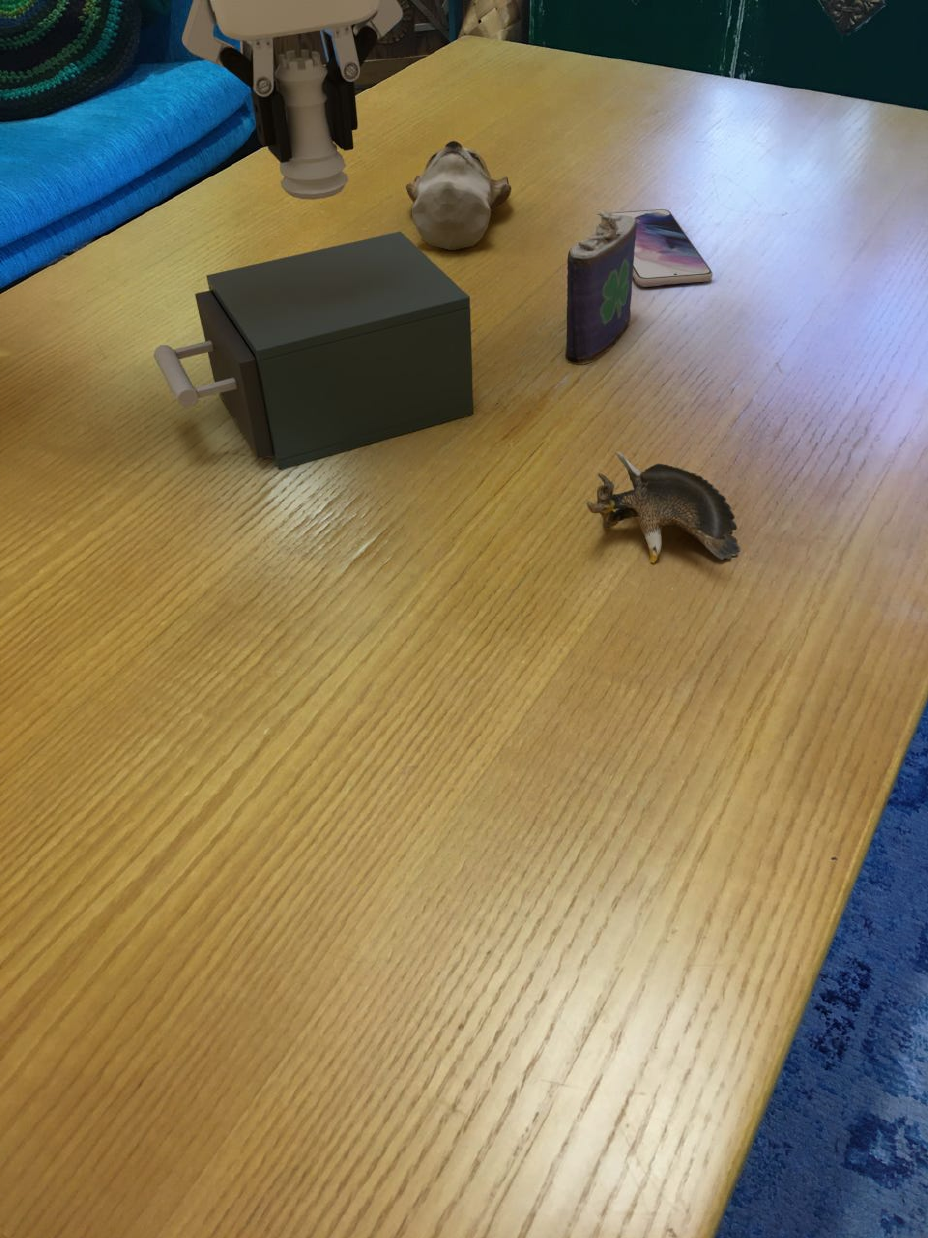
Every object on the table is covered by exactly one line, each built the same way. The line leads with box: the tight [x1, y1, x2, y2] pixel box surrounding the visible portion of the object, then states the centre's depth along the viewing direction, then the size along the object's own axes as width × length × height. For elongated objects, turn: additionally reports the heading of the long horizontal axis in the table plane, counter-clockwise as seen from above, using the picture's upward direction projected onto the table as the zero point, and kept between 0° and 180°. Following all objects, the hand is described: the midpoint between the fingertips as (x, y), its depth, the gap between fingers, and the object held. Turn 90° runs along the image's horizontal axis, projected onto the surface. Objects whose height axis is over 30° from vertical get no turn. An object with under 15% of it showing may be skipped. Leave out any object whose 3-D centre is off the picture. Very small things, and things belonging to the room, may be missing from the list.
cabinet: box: [205, 231, 474, 471], centre depth 80 cm, size 16×13×10 cm
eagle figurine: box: [586, 451, 741, 564], centre depth 67 cm, size 8×7×9 cm
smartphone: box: [600, 208, 714, 288], centre depth 100 cm, size 7×1×15 cm
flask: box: [565, 210, 637, 365], centre depth 85 cm, size 9×3×11 cm, turn 148°
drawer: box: [153, 290, 274, 460], centre depth 79 cm, size 19×11×8 cm, turn 115°
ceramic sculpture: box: [405, 140, 512, 251], centre depth 103 cm, size 11×9×15 cm
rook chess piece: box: [274, 49, 349, 201], centre depth 67 cm, size 4×4×8 cm
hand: (310, 146), depth 68 cm, fingers closed on rook chess piece, 3 cm apart
